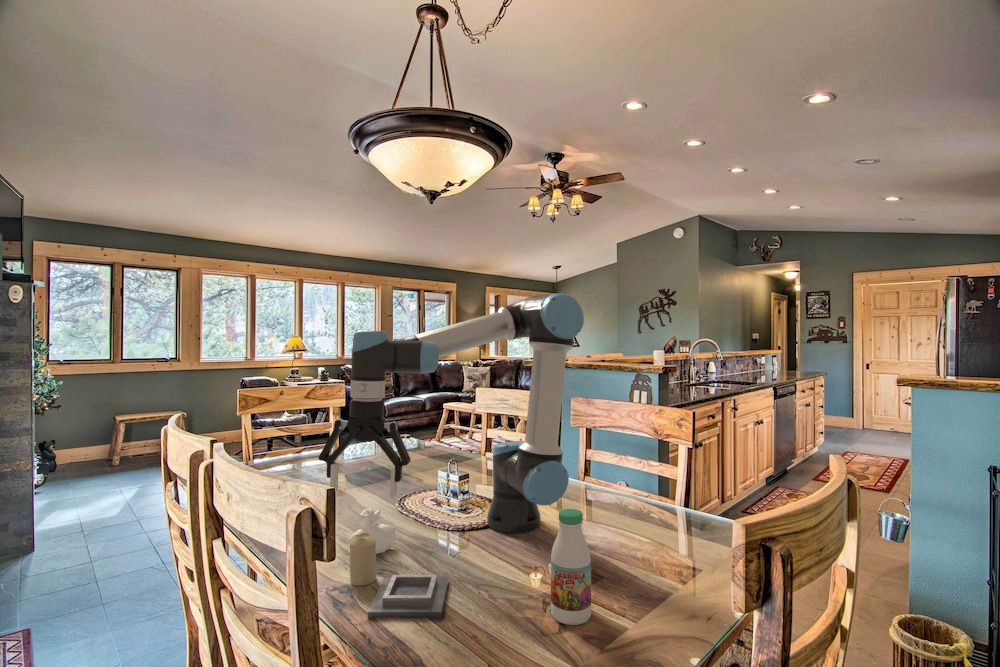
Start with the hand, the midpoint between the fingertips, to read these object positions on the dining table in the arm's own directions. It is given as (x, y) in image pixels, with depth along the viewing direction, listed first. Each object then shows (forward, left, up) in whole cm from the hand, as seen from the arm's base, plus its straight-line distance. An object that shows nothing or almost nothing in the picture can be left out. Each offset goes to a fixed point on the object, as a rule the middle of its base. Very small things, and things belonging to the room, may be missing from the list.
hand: (363, 494), depth 115 cm
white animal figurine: (+2, -13, -19) cm, 23 cm away
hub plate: (-12, +10, -19) cm, 24 cm away
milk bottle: (-44, +16, -19) cm, 51 cm away
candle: (0, +2, -19) cm, 19 cm away
